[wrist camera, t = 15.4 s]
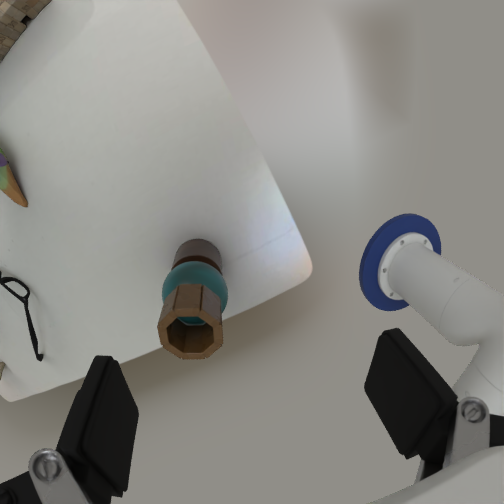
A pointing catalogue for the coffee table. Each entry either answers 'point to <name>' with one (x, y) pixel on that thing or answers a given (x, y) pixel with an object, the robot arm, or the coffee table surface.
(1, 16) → the block tower
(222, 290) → the ball stand
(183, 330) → the bronze ring
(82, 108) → the coffee table surface
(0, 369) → the bone
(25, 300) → the glasses
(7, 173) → the decorative sculpture
